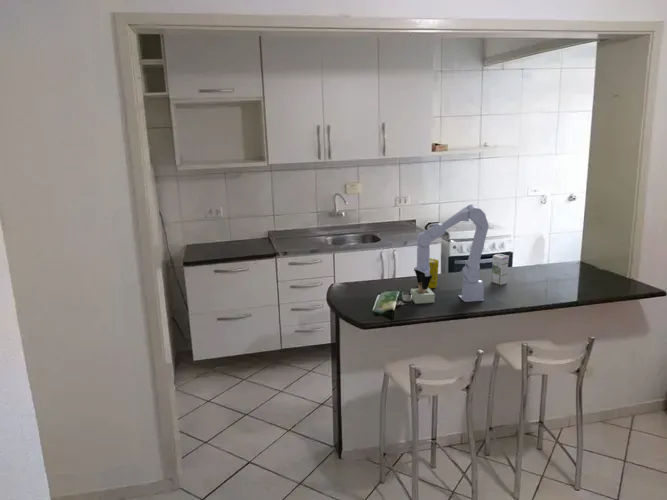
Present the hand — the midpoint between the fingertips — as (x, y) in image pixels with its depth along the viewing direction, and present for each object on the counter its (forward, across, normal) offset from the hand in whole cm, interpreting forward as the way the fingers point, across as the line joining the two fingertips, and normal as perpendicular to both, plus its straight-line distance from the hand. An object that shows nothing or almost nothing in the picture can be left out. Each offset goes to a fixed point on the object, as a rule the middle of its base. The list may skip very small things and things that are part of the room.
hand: (422, 286), depth 247 cm
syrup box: (+7, -16, +45) cm, 48 cm away
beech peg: (+7, 0, 0) cm, 7 cm away
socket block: (+7, 0, 0) cm, 7 cm away
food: (+7, -17, +8) cm, 20 cm away
